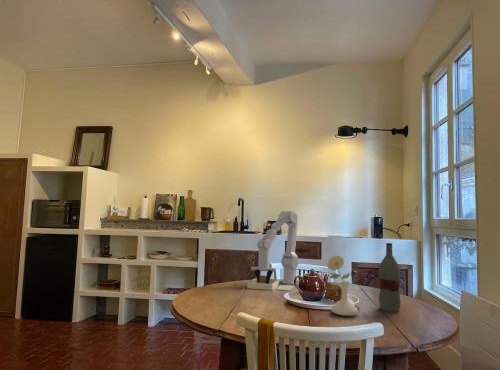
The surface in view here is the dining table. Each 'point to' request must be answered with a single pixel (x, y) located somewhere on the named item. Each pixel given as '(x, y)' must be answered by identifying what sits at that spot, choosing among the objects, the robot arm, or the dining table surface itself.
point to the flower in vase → (343, 305)
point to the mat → (285, 288)
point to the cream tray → (256, 285)
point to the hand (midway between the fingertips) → (263, 283)
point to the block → (263, 279)
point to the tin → (333, 292)
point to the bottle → (389, 282)
